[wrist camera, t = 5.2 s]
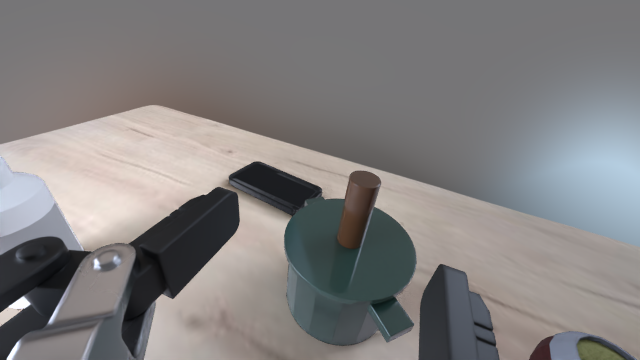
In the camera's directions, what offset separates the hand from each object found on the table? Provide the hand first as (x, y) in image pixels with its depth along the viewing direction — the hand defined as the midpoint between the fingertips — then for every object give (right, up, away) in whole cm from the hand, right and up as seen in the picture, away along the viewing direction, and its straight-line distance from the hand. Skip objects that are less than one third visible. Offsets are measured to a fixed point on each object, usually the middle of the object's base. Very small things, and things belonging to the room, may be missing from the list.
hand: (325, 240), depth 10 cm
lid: (+3, -4, +15) cm, 16 cm away
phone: (-8, +1, +34) cm, 35 cm away
